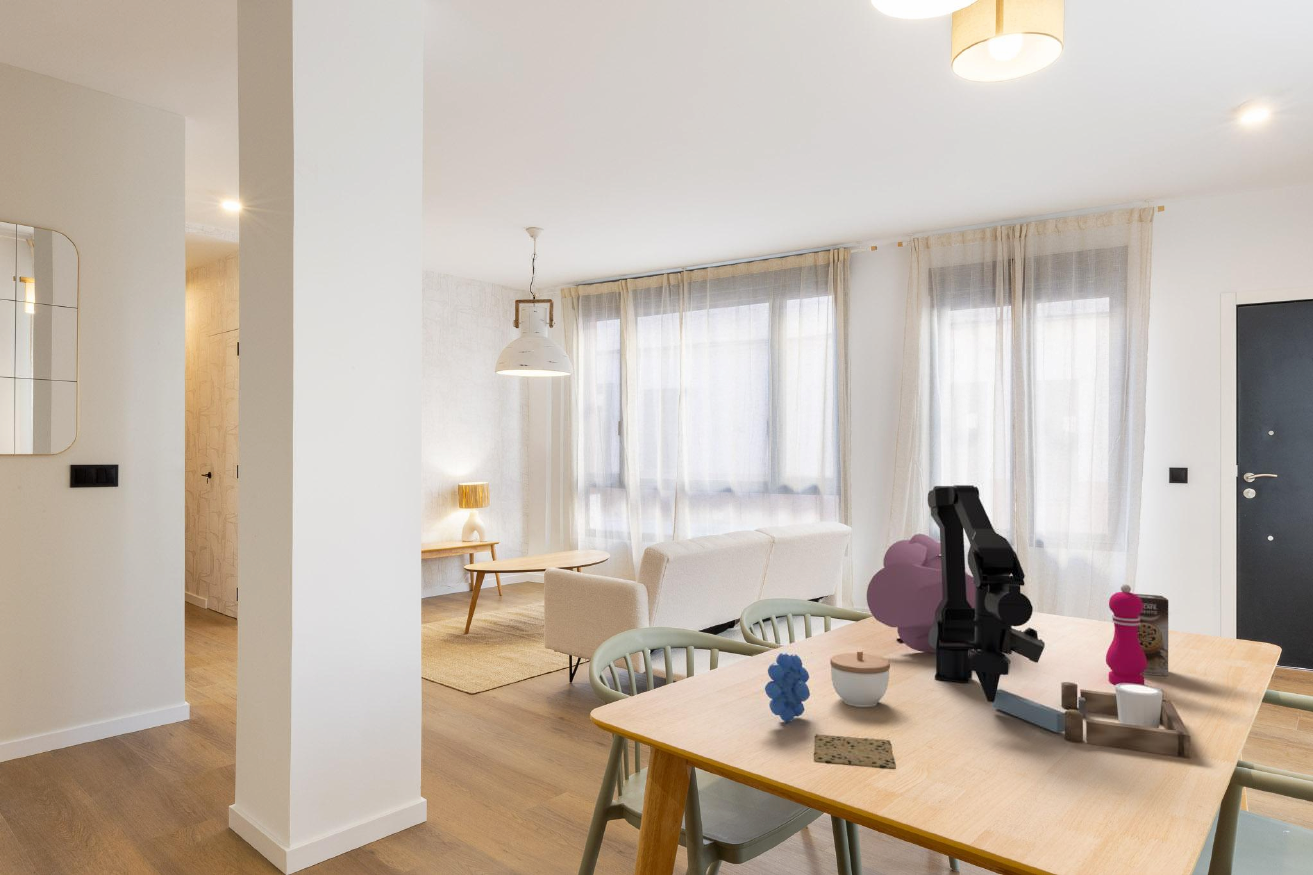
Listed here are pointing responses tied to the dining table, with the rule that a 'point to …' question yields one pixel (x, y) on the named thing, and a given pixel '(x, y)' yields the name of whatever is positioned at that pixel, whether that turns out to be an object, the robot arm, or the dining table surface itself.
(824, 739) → the cookie
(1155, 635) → the dark tall box
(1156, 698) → the white cup
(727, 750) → the dining table surface
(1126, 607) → the pepper mill
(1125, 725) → the fence
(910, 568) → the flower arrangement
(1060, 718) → the gate
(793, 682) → the grapes
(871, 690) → the lidded jar
